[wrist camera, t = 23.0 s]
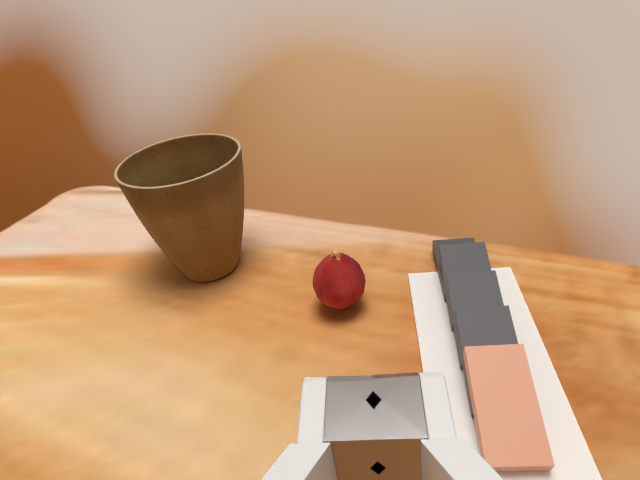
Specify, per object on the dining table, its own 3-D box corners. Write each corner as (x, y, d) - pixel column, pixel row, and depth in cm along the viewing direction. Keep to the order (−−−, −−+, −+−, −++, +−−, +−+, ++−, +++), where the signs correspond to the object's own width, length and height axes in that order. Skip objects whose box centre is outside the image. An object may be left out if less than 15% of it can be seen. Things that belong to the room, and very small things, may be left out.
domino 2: (452, 324, 52) (439, 245, 58) (451, 331, 53) (438, 253, 59) (503, 321, 51) (484, 241, 57) (501, 328, 53) (482, 250, 59)
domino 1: (444, 291, 56) (432, 240, 64) (444, 302, 57) (432, 250, 65) (491, 288, 55) (473, 237, 64) (490, 300, 56) (472, 248, 65)
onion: (312, 297, 61) (303, 242, 56) (358, 286, 62) (353, 230, 57) (323, 329, 56) (314, 272, 52) (373, 317, 57) (369, 259, 52)
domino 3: (461, 362, 48) (446, 273, 54) (460, 369, 49) (445, 281, 55) (517, 360, 47) (495, 270, 53) (514, 367, 48) (493, 278, 54)
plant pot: (269, 230, 75) (248, 126, 66) (258, 296, 62) (230, 178, 54) (170, 239, 76) (136, 139, 67) (140, 306, 63) (93, 193, 55)
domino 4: (473, 411, 43) (455, 308, 49) (471, 417, 44) (453, 316, 51) (535, 409, 43) (508, 305, 49) (531, 415, 44) (506, 313, 50)
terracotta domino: (486, 467, 39) (464, 346, 45) (483, 472, 40) (463, 354, 46) (554, 465, 38) (523, 343, 45) (549, 470, 40) (520, 351, 46)
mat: (451, 558, 36) (451, 556, 35) (408, 275, 62) (408, 273, 62) (633, 557, 34) (634, 555, 34) (510, 269, 61) (510, 267, 61)
